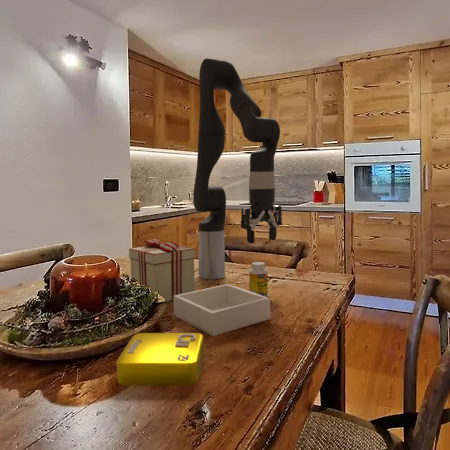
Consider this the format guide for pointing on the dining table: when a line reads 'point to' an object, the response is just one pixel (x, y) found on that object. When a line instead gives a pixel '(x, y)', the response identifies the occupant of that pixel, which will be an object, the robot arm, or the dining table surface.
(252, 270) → the supplement bottle
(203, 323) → the box
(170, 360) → the element tile
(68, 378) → the dining table surface
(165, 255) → the gift box
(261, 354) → the dining table surface
